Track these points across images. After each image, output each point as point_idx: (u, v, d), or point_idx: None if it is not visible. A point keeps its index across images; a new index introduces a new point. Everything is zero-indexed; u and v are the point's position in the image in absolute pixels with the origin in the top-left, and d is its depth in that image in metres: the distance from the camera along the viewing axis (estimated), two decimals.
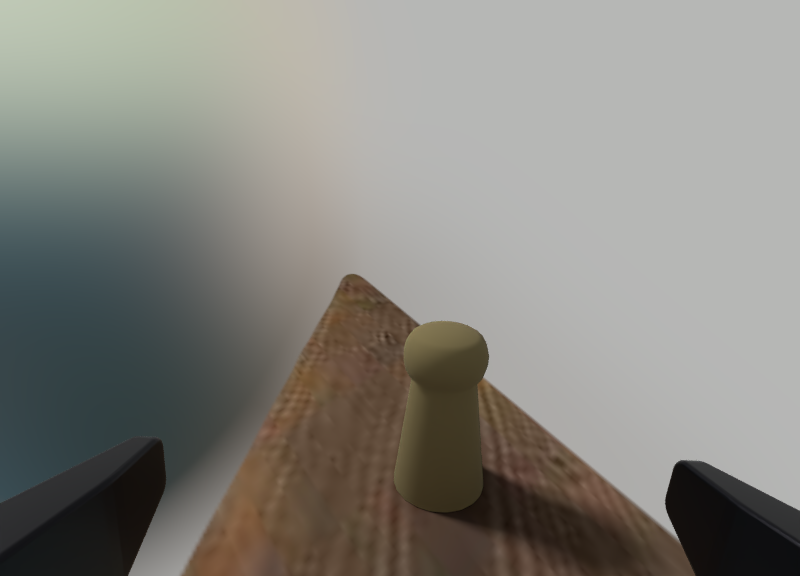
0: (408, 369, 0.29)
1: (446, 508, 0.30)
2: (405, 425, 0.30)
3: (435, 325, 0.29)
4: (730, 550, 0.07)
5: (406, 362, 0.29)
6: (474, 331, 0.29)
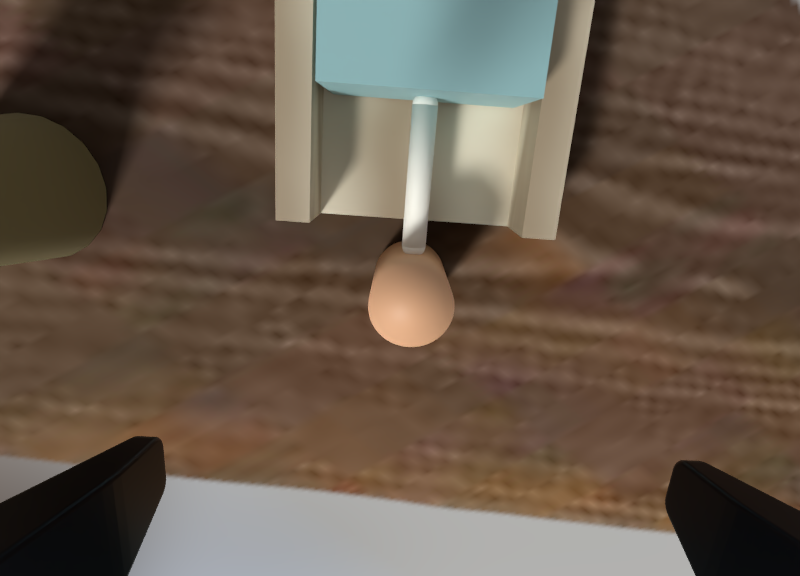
0: None
1: (101, 189, 0.20)
2: None
3: None
4: (730, 550, 0.07)
5: None
6: None
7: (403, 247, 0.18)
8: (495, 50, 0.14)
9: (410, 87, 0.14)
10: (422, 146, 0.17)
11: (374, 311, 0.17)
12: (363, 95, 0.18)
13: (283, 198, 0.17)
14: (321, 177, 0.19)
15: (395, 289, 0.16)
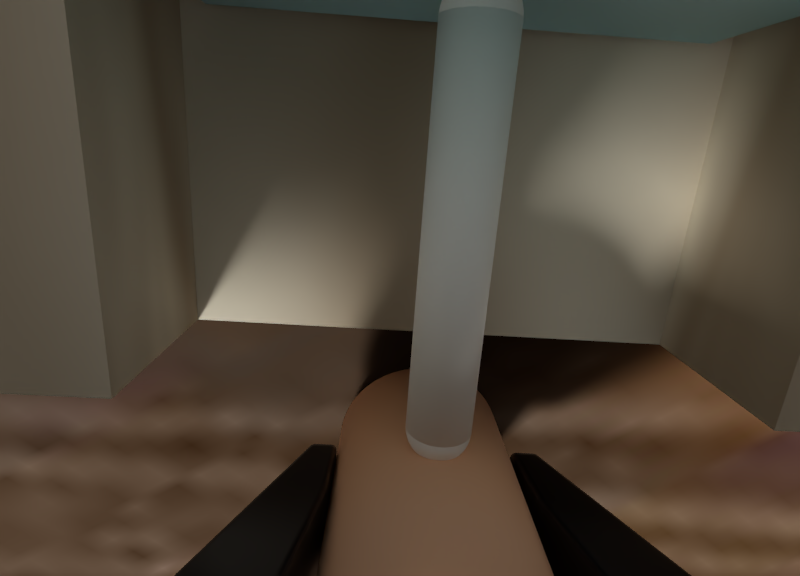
0: None
1: None
2: None
3: None
4: None
5: None
6: None
7: (410, 438, 0.06)
8: None
9: None
10: (474, 154, 0.05)
11: None
12: (287, 1, 0.06)
13: (13, 329, 0.05)
14: (191, 233, 0.07)
15: None
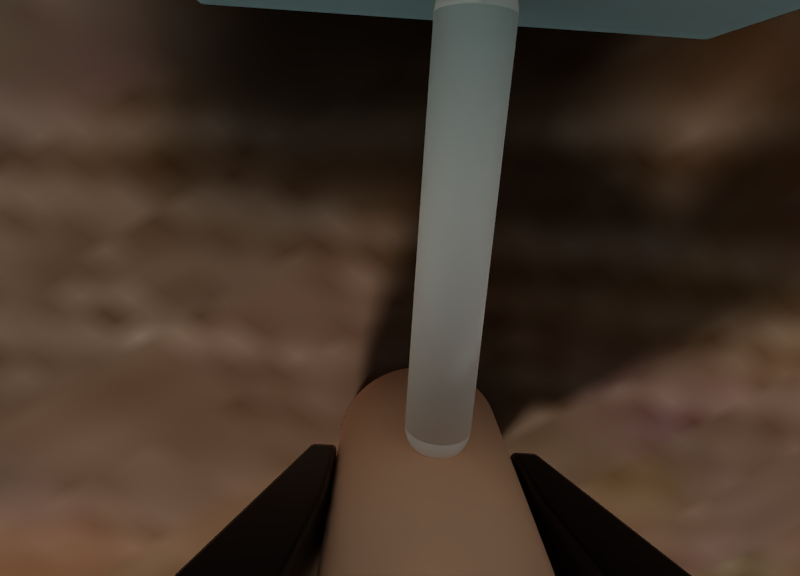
0: None
1: None
2: None
3: None
4: None
5: None
6: None
7: (409, 436, 0.06)
8: None
9: None
10: (471, 151, 0.05)
11: None
12: (283, 0, 0.06)
13: None
14: None
15: None
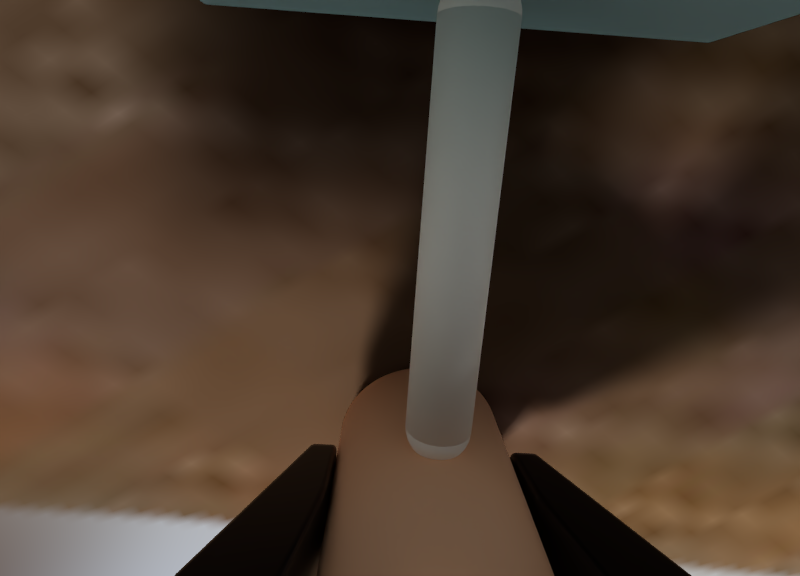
0: None
1: None
2: None
3: None
4: None
5: None
6: None
7: (410, 438, 0.06)
8: None
9: None
10: (473, 154, 0.05)
11: None
12: (286, 1, 0.06)
13: None
14: None
15: None
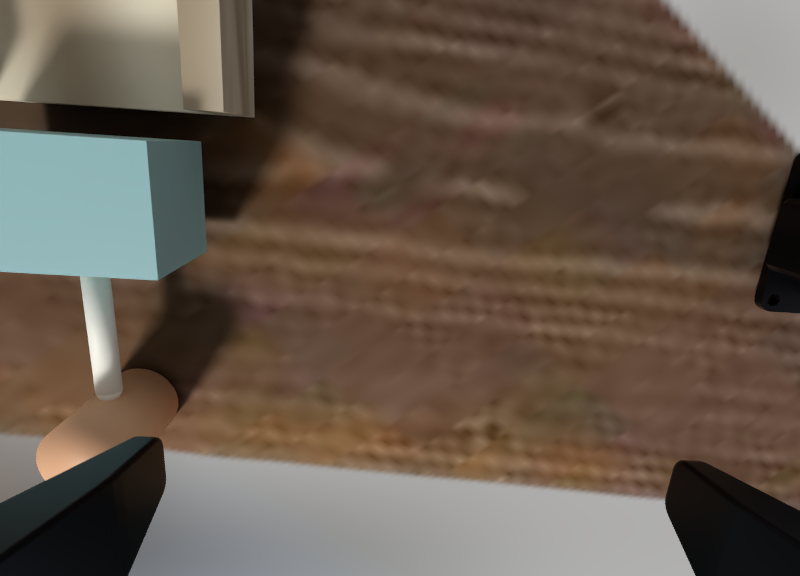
0: None
1: None
2: None
3: None
4: (730, 550, 0.07)
5: None
6: None
7: None
8: (98, 238, 0.14)
9: (21, 271, 0.14)
10: (91, 303, 0.17)
11: (44, 469, 0.17)
12: None
13: None
14: None
15: (60, 448, 0.16)
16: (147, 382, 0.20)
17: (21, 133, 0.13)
